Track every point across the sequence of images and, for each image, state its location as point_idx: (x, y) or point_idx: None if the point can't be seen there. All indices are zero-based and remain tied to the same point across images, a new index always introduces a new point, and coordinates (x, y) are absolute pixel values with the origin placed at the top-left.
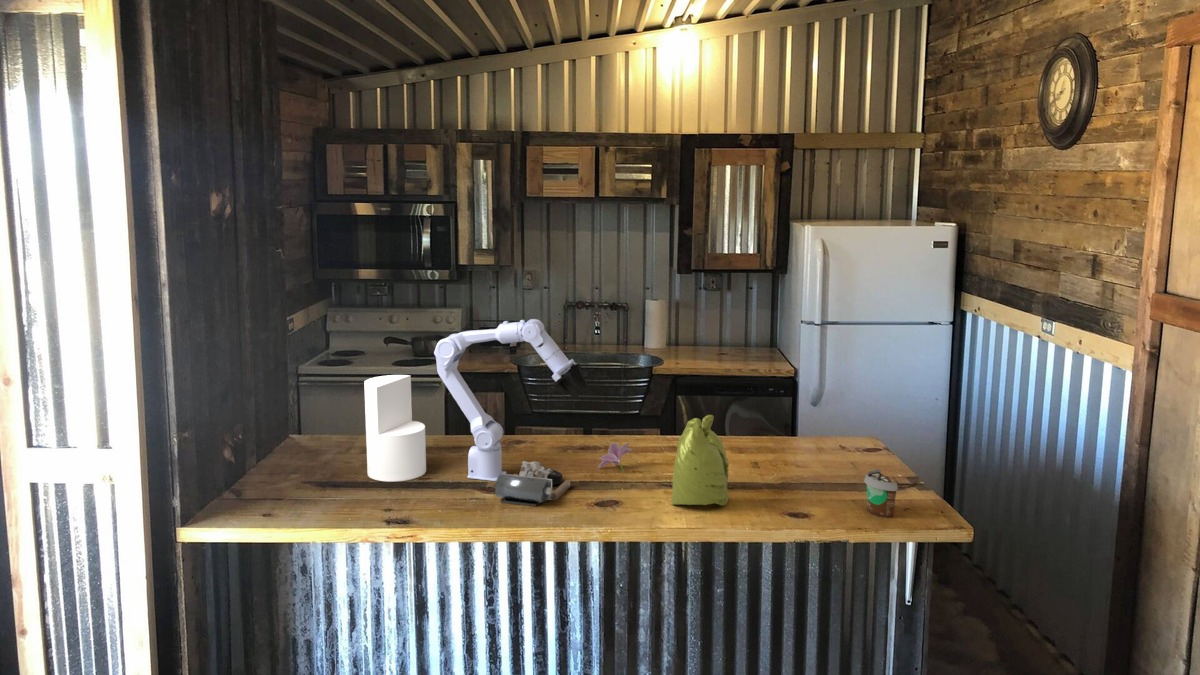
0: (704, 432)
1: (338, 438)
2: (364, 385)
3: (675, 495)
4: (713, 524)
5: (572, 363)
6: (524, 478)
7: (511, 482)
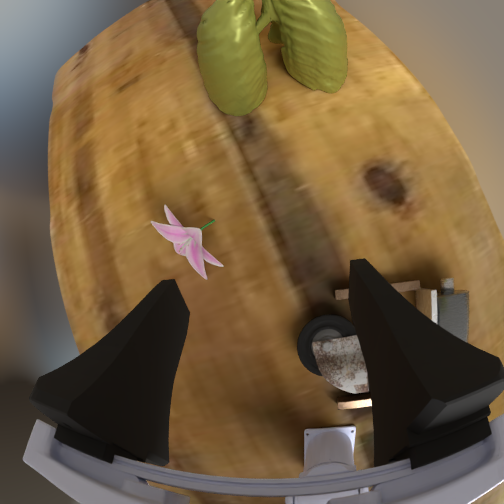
0: None
1: None
2: None
3: (343, 74)
4: (370, 42)
5: (54, 448)
6: (461, 337)
7: None
